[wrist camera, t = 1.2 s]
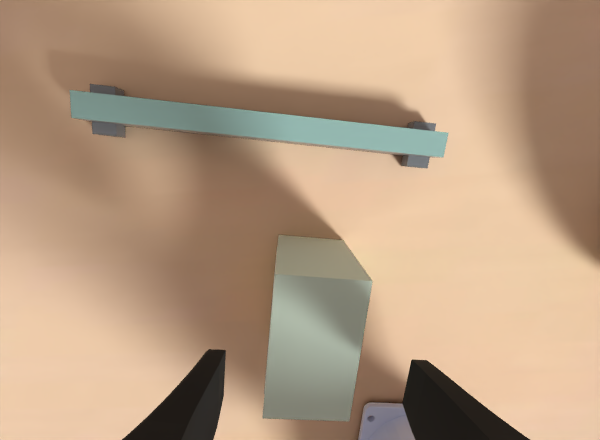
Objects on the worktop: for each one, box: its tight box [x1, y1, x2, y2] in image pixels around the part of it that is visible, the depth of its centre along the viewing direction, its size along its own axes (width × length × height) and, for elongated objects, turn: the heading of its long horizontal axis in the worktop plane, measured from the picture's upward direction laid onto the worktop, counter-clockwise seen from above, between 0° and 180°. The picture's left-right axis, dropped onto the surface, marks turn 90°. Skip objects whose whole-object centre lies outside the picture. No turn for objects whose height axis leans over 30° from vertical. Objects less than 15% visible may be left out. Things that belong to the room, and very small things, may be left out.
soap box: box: [263, 235, 372, 421], centre depth 15 cm, size 7×4×6 cm, turn 174°
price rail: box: [70, 84, 448, 168], centre depth 15 cm, size 2×18×2 cm, turn 84°
